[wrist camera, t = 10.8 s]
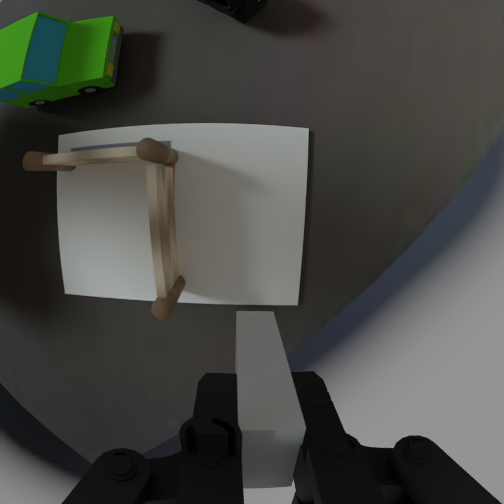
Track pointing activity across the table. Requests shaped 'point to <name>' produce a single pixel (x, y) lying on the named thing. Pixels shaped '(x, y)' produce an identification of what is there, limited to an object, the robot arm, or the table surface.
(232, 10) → the digital camera
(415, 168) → the table surface
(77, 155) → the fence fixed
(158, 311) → the fence gate
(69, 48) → the toy car
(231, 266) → the card
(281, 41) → the table surface
